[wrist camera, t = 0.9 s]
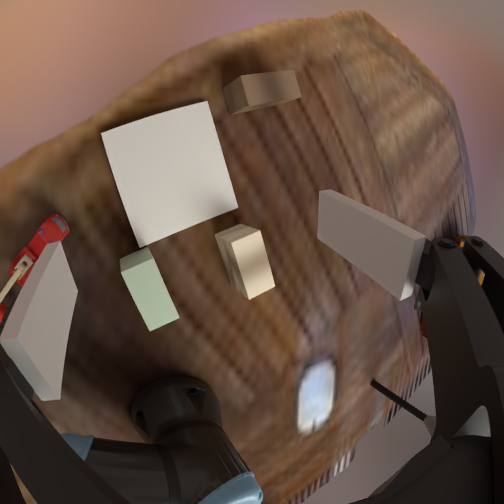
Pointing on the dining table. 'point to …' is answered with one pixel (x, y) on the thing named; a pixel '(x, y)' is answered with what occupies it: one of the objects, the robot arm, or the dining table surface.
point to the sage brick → (148, 288)
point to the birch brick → (245, 260)
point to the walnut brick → (261, 91)
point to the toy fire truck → (34, 253)
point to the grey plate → (169, 171)
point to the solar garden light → (407, 407)
